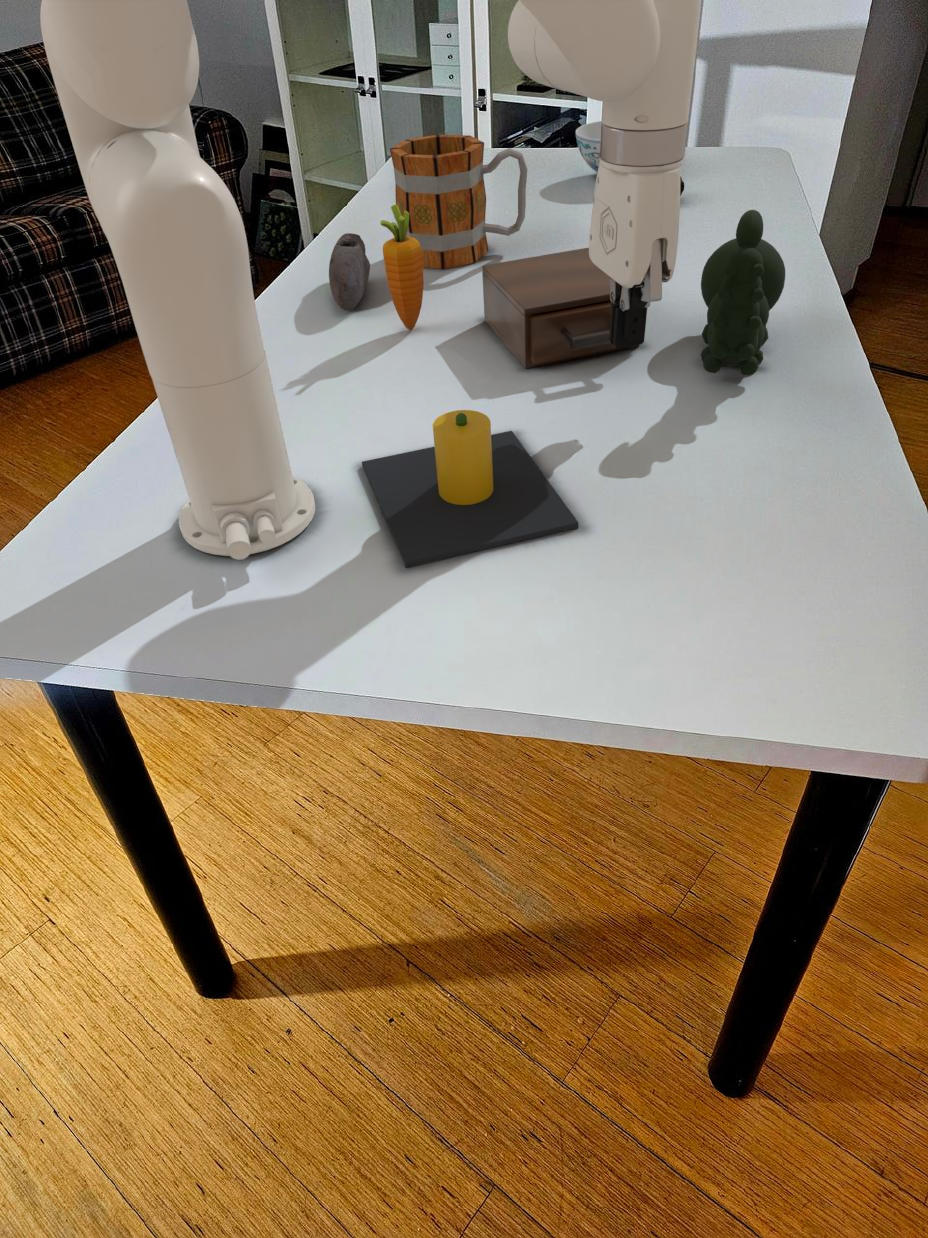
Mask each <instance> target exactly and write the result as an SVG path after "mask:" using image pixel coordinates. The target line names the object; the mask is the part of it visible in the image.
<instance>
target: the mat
mask: <svg viewBox="0 0 928 1238" xmlns="http://www.w3.org/2000/svg"><path fill="white" fill-rule="evenodd" d="M491 444H492V466H493V492H492V494H491V496H490V497H488V498H487V499H486V500H484V501H482V502H479V503H476V504H471V505H456V504H452V503H449V502H447V501H445V500H444V499H442V498H441V496H440V495H439V489H438V478H437V467H436V457H435V446H431V447H426V448H421V449H417V450H416V449H415V450H411V451H407V452H402V453H397V454H393V455H388V456H383V457H378V458H373V459H372V458H371V459H367V460H362V461H361V467H362V469H363V472H364V473H365V476H366V478H367V481H368V483H369V485H370V488H371V490H372V492H373V495H374V497H375V499H376V502H377V504H378V506H379V509H380V511H381V513H382V516H383V518H384V520H385V522H386V525H387V528H388V530H389V532H390V534H391V537H392V539H393V541H394V544H395V546H396V549H397V550H398V553H399V555H400V557H401V560H402V562H403V564H404V567H405V568H410V567H414V566H419V565H423V564H428V563H431V562H436V561H440V560H444V559H445V560H446V559H449V558H454V557H458V556H462V555H467V554H470V553H475V552H481V551H484V550H488V549H492V548H497V547H501V546H505V545H509V544H515V543H518V542H523V541H526V540H531V539H535V538H540V537H544V536H549V535H552V534H556V533H557V534H558V533H561V532H562V533H563V532H565V531H570V530H574V529H578V528H579V521H578V520H577V518H576V517H575V515H574V514H573V512H571V510H570V509H569V508H568V506H567V505H566V503H565V502H564V501H563V499H562V498H561V496H560V495H559V494H558V492H557V491H556V490H555V488H554V487H553V485H552V484H551V483H550V481H549V480H548V478H547V477H546V476H545V474H544V472H543V471H541V468H539V466H538V465H537V463H536V462H535V461H534V459H533V458H532V456H531V455H530V454H529V452H528V451H527V449H525V447H524V446H523V444H522V443H521V442H520V440H519V439H518V437H517V436H516V435H515V433H514V432H513V431H512V430H508V431H503V432H498V433H493V434H491Z"/></svg>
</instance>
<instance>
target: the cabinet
mask: <svg viewBox="0 0 928 1238" xmlns="http://www.w3.org/2000/svg"><path fill="white" fill-rule="evenodd" d="M481 271H482V293H483V295H482V297H483V316H484V318H483V319H484V321H485V323H486V324H487V325H488V326H489V328H491V330H492V331H493V332H494V333H495V334H496V336H497V338H499V340H501V341H502V343H503V344H504V345H505V346H506V348H507V349H508V350H509V351H510V352H511V353H512V354H513V356H514V357H515V358H516V359H517V361H518V362H519V363H520V364H521V365H522V367H524V369H531V368H535V367H542V366H546V365H551V364H552V365H553V364H556V363H562V362H567V361H572V360H578V359H583V358H588V357H593V356H599V355H603V354H609V353H614V352H618V351H623V350H629V349H633V348H639V347H640V345H634V346H628V347H622V348H617V349H612V350H606V351H601V352H596V353H591V354H586V355H581V356H575V357H570V358H565V359H560V360H555V361H550V362H544V363H539V364H533V363H532V362H531V361H530V316H531V315H533V314H539V313H544V312H550V311H555V310H561V309H566V308H572V307H577V306H583V305H588V304H594V303H599V302H605V301H610V278H609V276H608V275H607V274H606V273H604V272H603V271H602V270H601V269H599V268H598V267H597V266H596V265H595V264H594V263H593V262H592V261H591V259H590V257H589V247H583V248H577V249H572V250H565V251H560V252H559V251H558V252H553V253H549V254H543V255H542V254H541V255H537V256H530V257H524V258H519V259H514V260H513V259H512V260H507V261H501V262H495V263H489V264H483V265H481ZM640 287H641V286H640Z"/></svg>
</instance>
